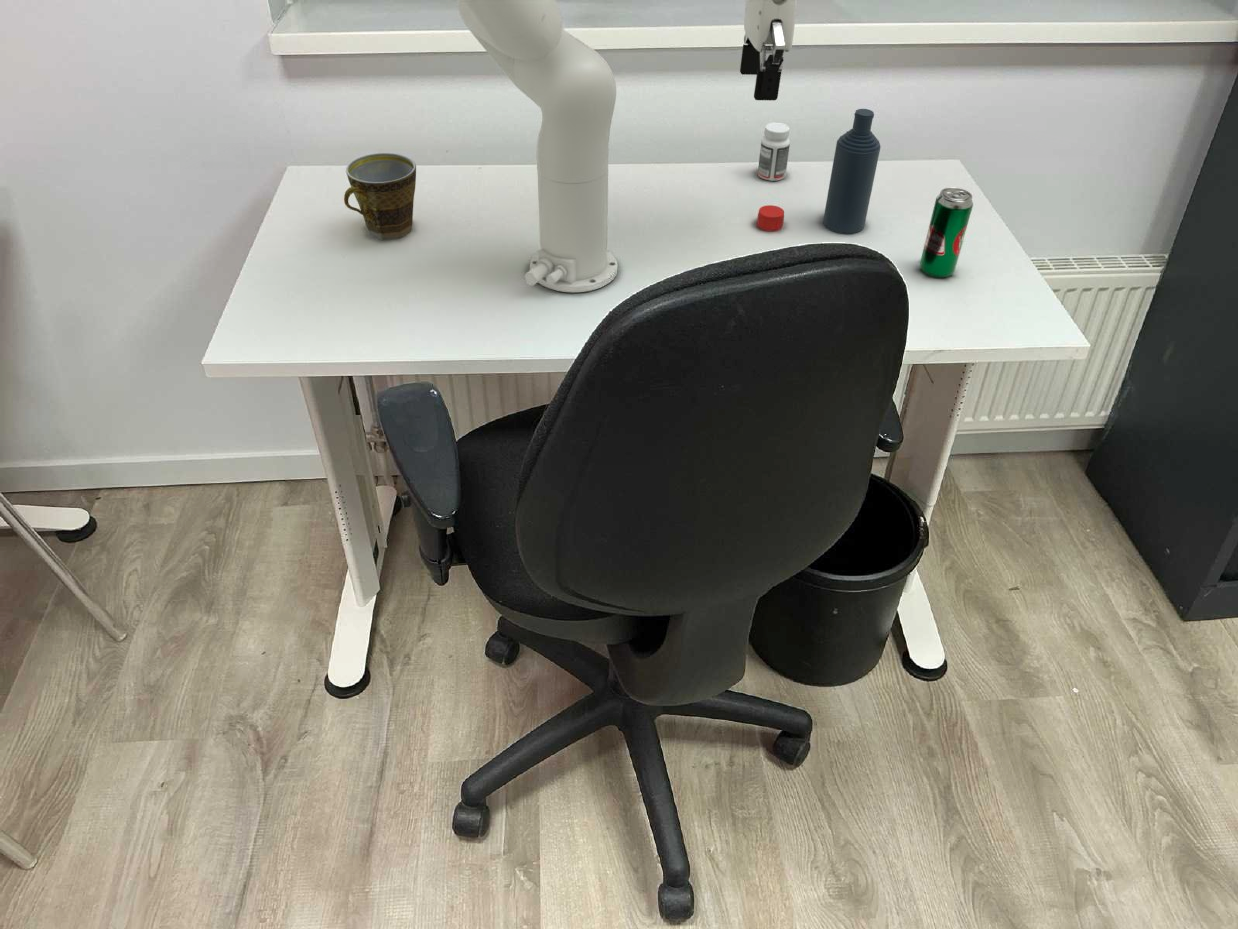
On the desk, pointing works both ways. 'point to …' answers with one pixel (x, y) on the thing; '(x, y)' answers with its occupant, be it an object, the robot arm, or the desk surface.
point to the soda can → (946, 232)
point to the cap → (770, 218)
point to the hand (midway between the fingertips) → (757, 86)
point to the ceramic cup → (383, 193)
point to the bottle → (852, 176)
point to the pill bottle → (774, 152)
